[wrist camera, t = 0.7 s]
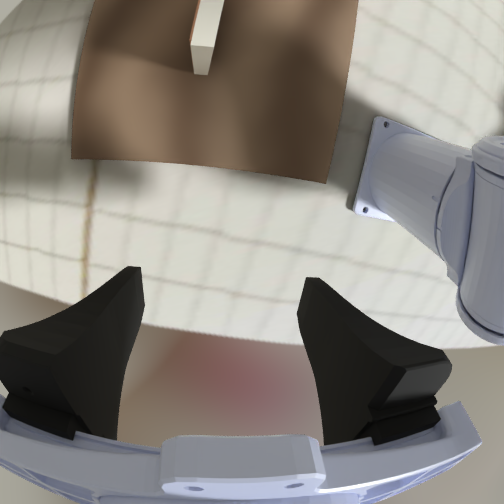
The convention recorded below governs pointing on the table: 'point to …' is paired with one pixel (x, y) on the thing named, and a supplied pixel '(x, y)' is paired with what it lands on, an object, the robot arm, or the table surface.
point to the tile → (204, 34)
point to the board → (215, 85)
